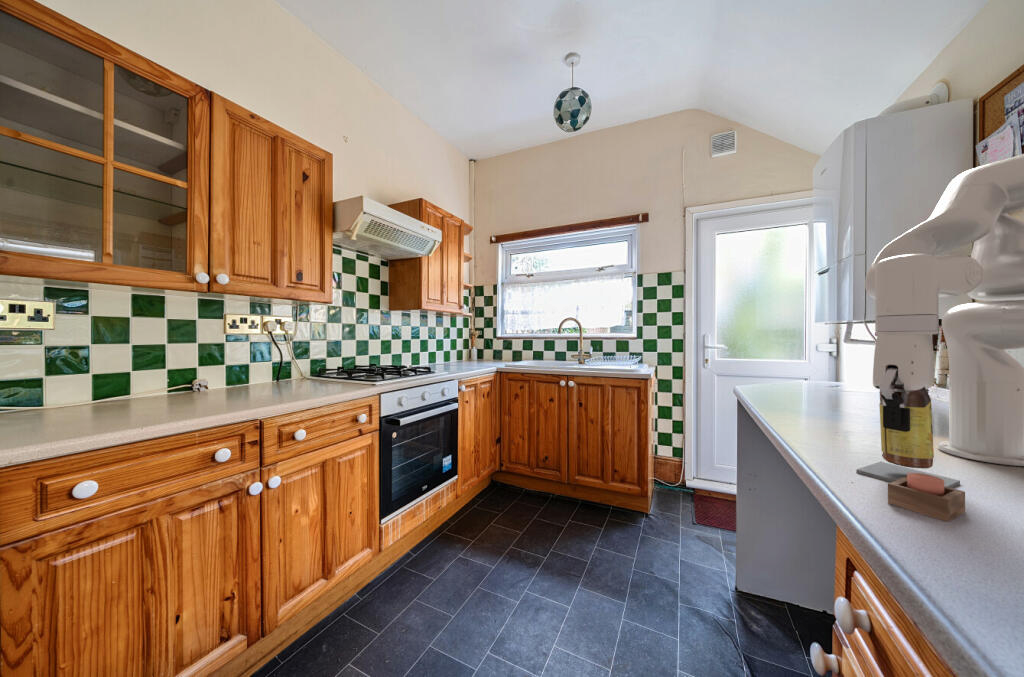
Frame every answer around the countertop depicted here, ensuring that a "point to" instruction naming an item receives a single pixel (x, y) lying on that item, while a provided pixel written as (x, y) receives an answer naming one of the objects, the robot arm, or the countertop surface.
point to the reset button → (926, 483)
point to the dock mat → (898, 473)
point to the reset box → (927, 500)
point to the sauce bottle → (910, 434)
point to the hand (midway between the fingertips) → (905, 426)
